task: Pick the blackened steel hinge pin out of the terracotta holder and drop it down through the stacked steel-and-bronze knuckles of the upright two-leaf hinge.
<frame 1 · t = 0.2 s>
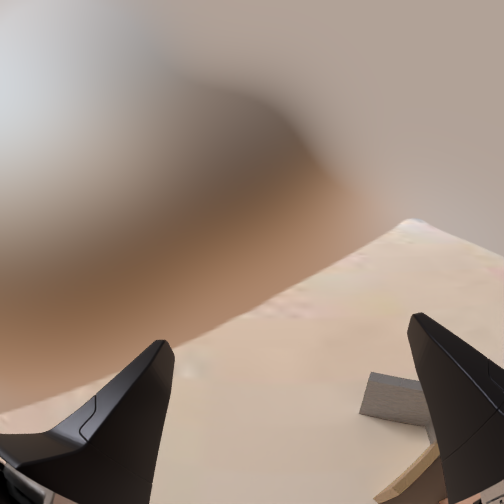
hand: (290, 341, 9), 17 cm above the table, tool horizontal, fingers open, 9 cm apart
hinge: (451, 425, 15), on the table
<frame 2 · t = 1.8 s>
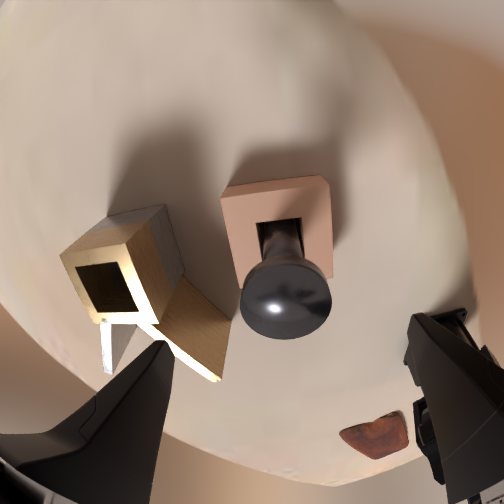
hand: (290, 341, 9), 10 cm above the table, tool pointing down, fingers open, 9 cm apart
hinge pin: (282, 255, 14), in the pin holder
pin holder: (279, 224, 18), on the table
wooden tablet: (380, 438, 37), on the table
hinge: (143, 243, 19), on the table
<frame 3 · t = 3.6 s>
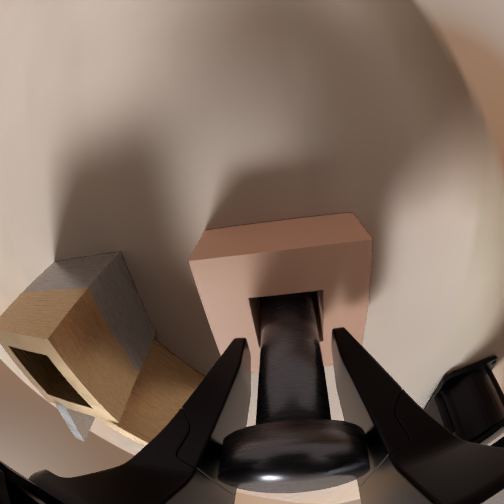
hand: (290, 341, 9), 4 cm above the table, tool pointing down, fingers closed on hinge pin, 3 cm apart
hinge pin: (290, 357, 8), in the pin holder, touching gripper
pin holder: (286, 283, 12), on the table
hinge: (101, 298, 13), on the table
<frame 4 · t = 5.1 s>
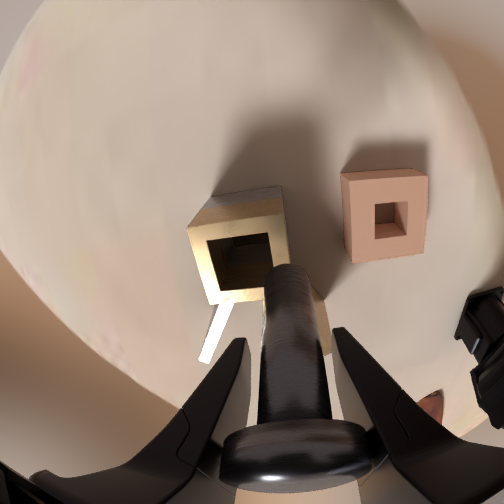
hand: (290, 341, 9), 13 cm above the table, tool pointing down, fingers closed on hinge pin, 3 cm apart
hinge pin: (291, 356, 8), point 13 cm above the table, touching gripper
pin holder: (379, 208, 19), on the table
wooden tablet: (418, 422, 37), on the table
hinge: (251, 224, 21), on the table
when the fingers open (7 cm above the table, at t = 6.9 s): hinge pin drops 4 cm, resting in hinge.
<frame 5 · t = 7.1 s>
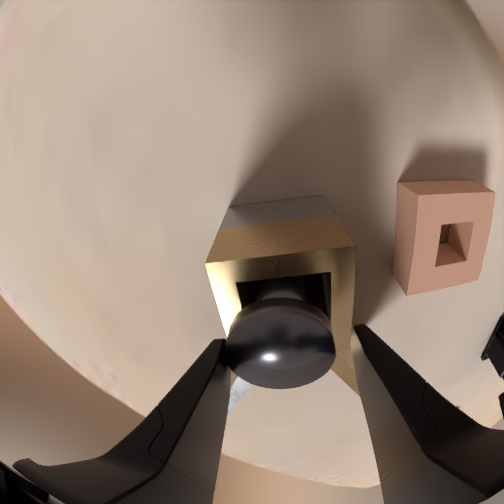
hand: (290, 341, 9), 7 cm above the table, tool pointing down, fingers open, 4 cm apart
hinge pin: (281, 284, 12), in the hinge, touching gripper
pin holder: (435, 226, 14), on the table
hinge: (282, 244, 16), on the table
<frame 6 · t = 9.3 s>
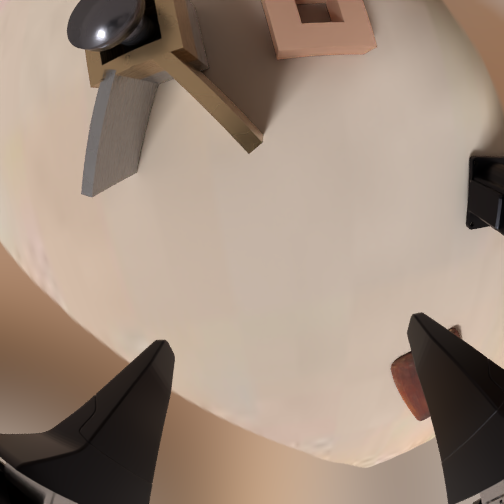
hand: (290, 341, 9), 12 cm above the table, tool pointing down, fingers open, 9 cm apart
hinge pin: (138, 32, 10), in the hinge
pin holder: (311, 18, 12), on the table
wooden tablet: (430, 384, 31), on the table
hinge: (165, 48, 14), on the table
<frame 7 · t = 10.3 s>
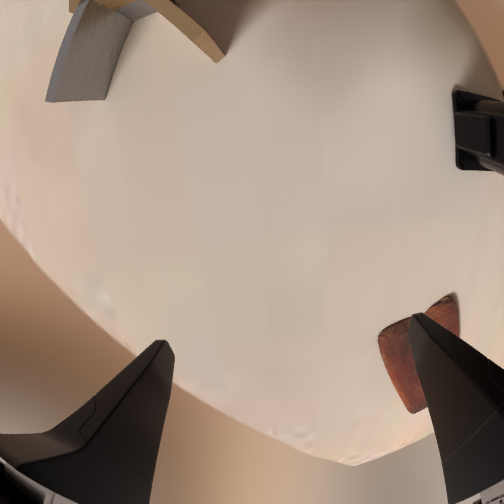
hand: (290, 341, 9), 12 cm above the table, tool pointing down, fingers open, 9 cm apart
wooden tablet: (424, 368, 29), on the table
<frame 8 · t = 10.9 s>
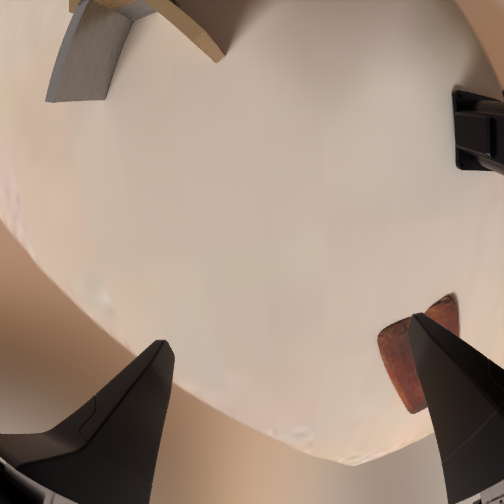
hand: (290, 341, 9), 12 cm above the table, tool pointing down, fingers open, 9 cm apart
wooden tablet: (424, 368, 29), on the table
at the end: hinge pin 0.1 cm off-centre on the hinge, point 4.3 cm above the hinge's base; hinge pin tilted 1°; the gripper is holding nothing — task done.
